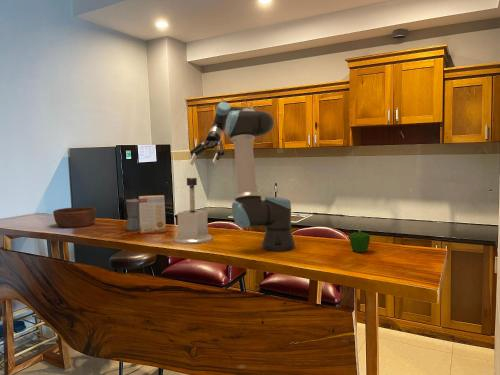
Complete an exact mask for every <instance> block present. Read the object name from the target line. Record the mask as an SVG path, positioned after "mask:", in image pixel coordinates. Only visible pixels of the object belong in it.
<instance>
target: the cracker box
mask: <svg viewBox="0 0 500 375" xmlns="http://www.w3.org/2000/svg"><path fill="white" fill-rule="evenodd" d="M138 200H139V214H140V230H139V232H140V234H141V235H145V234H154V233H155V234H159V233H160V234H161V233H162V234H163V233H166V231H167V230H166V204H165V203H166V202H165V195H163V194H161V195H160V194H158V195H139V196H138Z"/></svg>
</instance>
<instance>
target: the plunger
mask: <svg viewBox="0 0 500 375" xmlns="http://www.w3.org/2000/svg"><path fill="white" fill-rule="evenodd" d="M197 180H198V179H197V177H187V178H186V186H188V187H189V210H190V212H195V210H196V207H195V206H196V203H195V202H196V200H195V198H196V196H195V186H197V185H198V182H197Z"/></svg>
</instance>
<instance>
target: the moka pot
mask: <svg viewBox="0 0 500 375" xmlns="http://www.w3.org/2000/svg"><path fill="white" fill-rule="evenodd" d="M124 203H125V205H126V209H125V205H124ZM120 205H121V209H122V212H123V215H125V216H127V220H126V227H125V229H126V231H129V232H132V231H135V232H136V231H140V214H139V198H138V199H137V198H136V195H135V196H132V199H125V198H123V199H122V200H121V202H120Z"/></svg>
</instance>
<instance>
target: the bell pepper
mask: <svg viewBox="0 0 500 375" xmlns="http://www.w3.org/2000/svg"><path fill="white" fill-rule="evenodd" d="M370 242H371V236H370V234H369V233H366V232H362V229H358V232H356V231H354V232H353V233H350V235H349V243H350V247H351V250H352V251H354V252H356V253H365V252H367V250H368V249H369V245H370Z"/></svg>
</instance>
